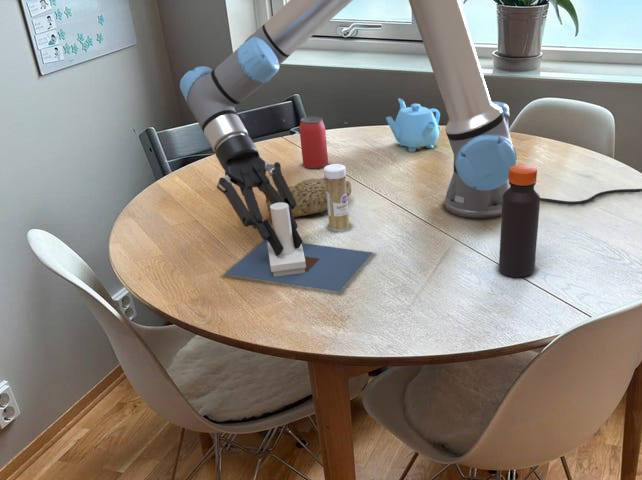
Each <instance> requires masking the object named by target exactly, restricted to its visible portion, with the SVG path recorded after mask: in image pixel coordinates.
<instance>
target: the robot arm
mask: <svg viewBox="0 0 642 480" xmlns="http://www.w3.org/2000/svg"><path fill="white" fill-rule="evenodd" d="M352 2H353V0H288V1H287V2H286V3H285V4H284V5H283V6H282V7H280V9H279V10H277V11H276V12H275V13H274V14H273V15H272V16H271V17H270V18H269V19H268V20H267V21H266V22H265V23H264V24H262V25H261V26H260V27H259V28H258V29H257V30H256V31H255V32H254V33H253V34H251V35H249V36H248V37H247V38H246V39H245V41H244V42H243V43H242V44H241V45H239V46H238V48H237V49H236V50H234V51H233V52H232V53H231V54H230V55H229V56H228V57H226V58H225V59H224V60H223V61H222V62H221V63H219V64H218V66H217V67H216V68H214V69H212V68H210V67H209V66H204V65H203V66H196V67H195V68H193V70H188V71H187V72H186V73H185V74H184V75H183V76H182V78H181V79H180V82H179V89H180V91H181V93H182V95H183V98H184V100H185V103H186V105H187V107H188V109H189V110H190V111H191V113H192V115H193V116H194V118H195V120H196V121H197V123H198V125H199V127H200V128H201V130H202V132H203V134H204V136H205V138H206V140H207V142H208V144H209V145H210V148H211V149H212V151H213V152H214V153H215V158H217V160H218V163H219V164H220V165H221V168H222V169H223V170H224V175H225V176H224V177H219V179H218V182H217V185H216V188H217V189H218V190H219V191H220V192H221V193H222V194H223V195H225V197H226V199H227V200H228V202H229V203H230V205H231V207H232V209H233V210H234V212H235V213H236V215H237V216H238V218H239V219H240V221H241V223H242V224H243V226H244V227H246V228H248V227H252V228H253V229H254V230H257V232H258V233H259V235H260V237H261V240H263V241H265V240H268V242H269V243H270V245H271V247H272V249H273V251H274V252H275V254H276V256H278V255H280V254H281V252H282V251H283V249H284V248H283V246H282V245H281V243H280V241H279V239H278V237H277V236H276V234H275V232H274V230H273V226H272V225H271V223H270V221H269V219H268V218H265V219H263V215H262V212H261V210H260V206H259V203H258V200H257V198H256V195H255V192H254V189H253V188H257V189H258V190H259V192H261V193H262V194H263V195H264V197H265V196H266V197H267V199H268V200H269V201H270V202H271V204H274V203H279V202H283V203H287V204H288V207H289V214H290V221H291V228H292V236H293V243H294V247H295V249H297V248H299V247H300V245H301V244H302V243H304V241H303V239H302V237H301V236H300V234H299V232H298V230H297V229H298V226H299V225H298V222H297V221H296V219H295V217H293V216H292V214H291V212H293V210H294V209H295V207H296V205H297V204H296V202H295V200H294V198H293V195H292V193H291V191H290V189H289V187H290V186H288V183H287V181H286V179H285V177H284V174H283V173H282V166H281V163H280V162H279V161H276V162H274V164H273V163H267V162H266V161H265V160H264V159H263V158H262V157H261V156H260V153H259V151H258V148H257V147H256V145H255V143H254V142H253V140H252V138H251V136H249V133H248V130H247V129H246V127H245V124H244V123H243V122H242V120H241V118H240V117H239V115H238V113H237V111H236V109H235V108H236V107H237V106H239V105H240V104H241V103H242V102H243V101H244V100H245V99H247V98H248V97H249V96H251V95H252V94H253V93H255V92H256V91H257V90H258V89H260V88H261V87H262V86H264V84H267V83H268V82H270V80H271V79H272V78H273V77H274V76H275V75H276V74H277V73H279V70H280V66H281V64H282V63H284V62H285V61H286V60H288V58H289V57H290V56H291V55H293V54H294V53H295V52H296V51H297V50H298V49H299V48H300V47H301V46H302V45H303V44H306V42H307V41H308V40H309V39H311V38H312V37H313V36H314V35H315V34H317V32H319V31H320V30H321V29H322V28H323V27H324V26H326V25H327V23H329V22H330V21H331V20H332V19H333V18H334V17H335V16H337V15H338V14H339V13H340V12H342V10H343V9H345V8H346V7H348V5H350V3H352ZM408 3H409V6H410V8H411V11H412V14H413V17H414V21H415V23H416V25H417V29H418V32H419V35H420V38H421V40H422V44H423V47H424V49H425V52H426V55H427V58H428V61H429V64H430V66H431V68H432V73H433V76H434V78H435V81H436V84H437V87H438V90H439V93H440V95H441V98H442V101H443V104H444V108H445V110H446V112H447V116H448V121H447V123H446V126H445V128H444V130H445V135H446V137H447V140H448V142H449V145H450V148H451V150H452V154H453V172H452V176H451V179H450V181H449V185H448V188H447V191H446V194H445V197H444V206H445V209H446V210H447V211H448V212H449V213H451V214H452V215H455V216H458V217H463V218H467V219H490V218H491V219H492V218H496V217H501V216H502V197H503V194H504V193H505V192H506V191H507V190H508V189H509V188H510V184H509V168H510V167H512V166H514V165H517V151H516V148H515V146H514V145H513V141H512V138H511V134H510V131H509V119H510V116H511V115H510V108H509V105H508V104H507V103H505V102H502V101H495V100H494V101H493V100H492V99H491V97H490V94H489V90H488V87H487V83H486V81H485V78H484V74H483V71H482V67H481V65H480V62H479V58H478V55H477V51H476V48H475V46H474V42H473V39H472V36H471V35H472V34H471V32H470V30H469V25H468V23H467V20H466V16H465V13H464V10H463V7H462V3H461V0H408ZM266 173H268V175H269V177H271V179H272V182H273V184H274V186H275V187H274V186H273V184H272V183H271V181H270V179H269V177H268V176H267V175H266ZM233 185H235V186H237V187H239V189H240V192H241V195H242V196H243V199H244V201H245V203H244V201H243V200H242V198H241V197H240V195H239V193H238V192H237V190H236V188H235V187H234V186H233ZM277 190H278V192H279V194H280V195H279V194H278V192H277ZM641 192H642V188H622V189H620V188H619V189H609V190H604V191H600V192H598V193H596V194H594V195H592V196H590V197H588V198H586V199H583V200H572V201H571V200H570V201H569V200H559V199H554V198H553V199H552V198H547V197H545V198H544V197H540V202H544V203H545V202H546V203H554V204H559V205H571V206H573V205H584V204H587V203H590V202H592V201H593V200H595V199H597V198H599V197H601V196H605V195H611V194H618V193H619V194H620V193H641ZM266 197H265V198H266Z"/></svg>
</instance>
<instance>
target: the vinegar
mask: <svg viewBox="0 0 642 480" xmlns="http://www.w3.org/2000/svg"><path fill="white" fill-rule="evenodd" d="M537 177H538V168H537V167H536V166H533V165H530V164H516V165H514V166H512V167H510V168H509V180H508V184H509V189H508V190H507V191H506V192H505V193H504V194H503V197H502V215H501V216H500V217H501V218H500V239H499V257H498V258H499V259H498V260H499V261H498V271H499V272H500V273H501V274H503V275H504V276H506V277H509V278H515V279H517V278H518V279H520V278H526V277H529V276H530V275H532V274H533V273H534V271H535V267H536V254H537V245H538V244H537V241H538V231H539V218H540V207H541V205H540V204H541V201H540V198H541V196H540V193H539V192H538V191H537V190H536V189H535V186H536V184H537Z"/></svg>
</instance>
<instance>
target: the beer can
mask: <svg viewBox="0 0 642 480" xmlns="http://www.w3.org/2000/svg"><path fill="white" fill-rule="evenodd" d="M325 126H326V125H325V124H324V121H323V118H322V117H321V116H317V115H316V116H315V115H310V116H305V117H302V118H301V119H300V123H299V139H300V149H301V157H302V165H303V166H304V167H305V168H307V169H310V170H311V169H312V170H318V169H322V168H323V169H324V167H325V166H327V165H329V155H328V146H327V145H328V144H327V134H326V127H325Z"/></svg>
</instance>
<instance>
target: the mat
mask: <svg viewBox="0 0 642 480" xmlns="http://www.w3.org/2000/svg"><path fill="white" fill-rule="evenodd" d="M267 243H268V240H265V241H264V240H263V241H262V242H260V243H259V244H258V245H257V246H256V247H255V248H254V249H252V250H251V251H250V252H249V253H248V254H246V255H245V256H244V257H243V258H242V259H241V260H239V261H238V262H237V263H236V264H235V265H233V266H232V267H231V268H230V269H229V270H227V271H226V272H225V273H224V275H225V276H230V277H237V278H243V279H252V280H257V281H264V282H270V283H278V284H285V285H291V286H298V287H303V288H304V287H305V288H311V289H317V290H322V291H323V290H324V291H331V292H337V293H340V292H341V291H342V290H343V288H344V287H345V286H346V285H347V284H348V283H349V281H351V279H352V278H353V277H354V275H356V273H357V272H358V271H359V270H360V269H361V267H362V266H363V265H364V264H365V263H366V262H367V261H368V260H369V258H370V257H371V256H372V255H373V251H372V252H371V251H363V250H356V249H350V248H349V249H348V248H343V247H341V248H340V247H333V246H326V245H318V244H311V243H304V242H302V248H303V253H304V257H305V262H306V268H305V273H300V274H292V275H285V276H277V277H274V276H273V272H271V267H270V260H269V252H268V244H267Z"/></svg>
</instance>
